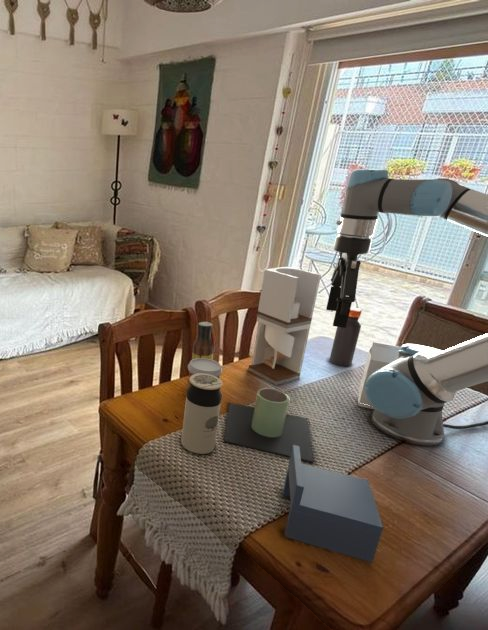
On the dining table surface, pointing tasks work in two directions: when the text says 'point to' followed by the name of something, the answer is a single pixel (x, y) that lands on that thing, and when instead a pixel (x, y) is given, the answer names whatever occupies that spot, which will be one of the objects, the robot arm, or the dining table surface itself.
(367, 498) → the blue l-shaped block
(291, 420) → the mat
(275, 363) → the white dispenser tower
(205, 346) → the sauce bottle
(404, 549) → the dining table surface
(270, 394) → the cup
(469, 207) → the robot arm
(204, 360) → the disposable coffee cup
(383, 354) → the milk carton
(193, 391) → the travel mug
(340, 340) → the vinegar
